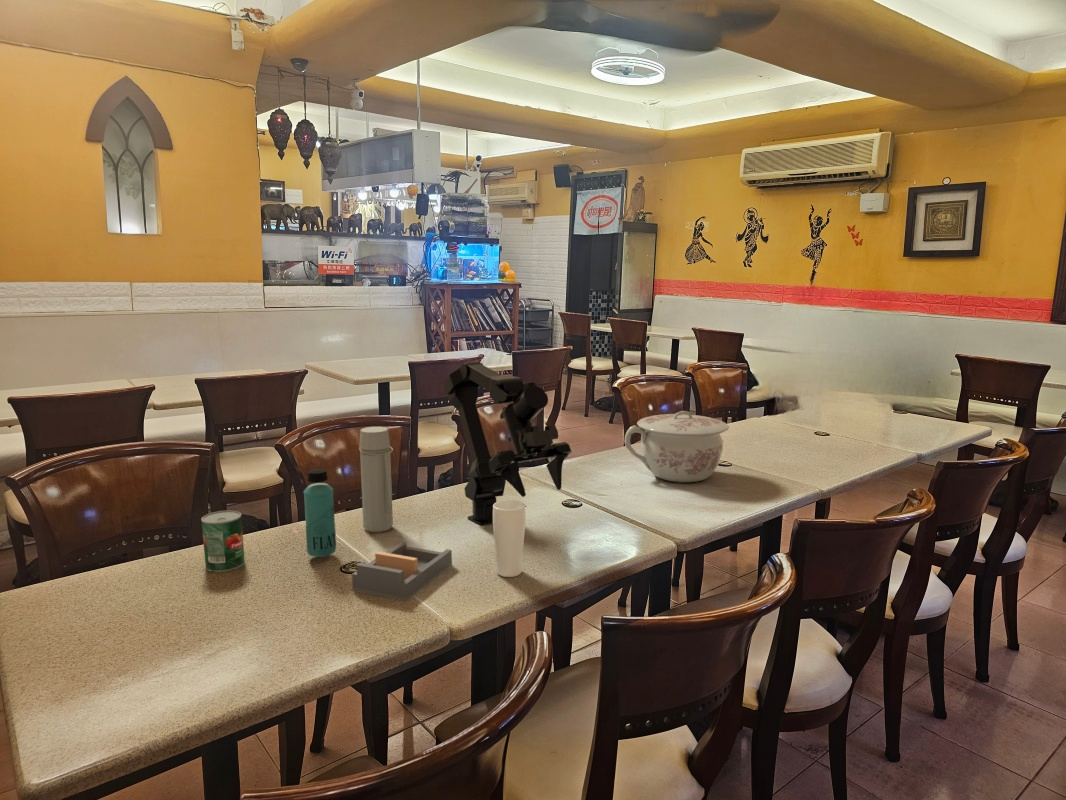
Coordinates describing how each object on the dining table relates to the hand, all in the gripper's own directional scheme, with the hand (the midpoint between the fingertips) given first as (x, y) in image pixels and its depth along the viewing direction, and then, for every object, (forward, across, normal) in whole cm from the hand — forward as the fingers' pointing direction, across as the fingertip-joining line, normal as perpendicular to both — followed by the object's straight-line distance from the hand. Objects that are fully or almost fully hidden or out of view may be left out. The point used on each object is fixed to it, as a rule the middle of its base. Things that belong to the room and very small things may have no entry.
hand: (542, 492), depth 156 cm
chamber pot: (-5, +69, +33) cm, 77 cm away
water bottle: (-8, -25, +37) cm, 45 cm away
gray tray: (+9, -30, +13) cm, 34 cm away
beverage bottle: (-2, -42, +29) cm, 51 cm away
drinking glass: (+14, -11, +6) cm, 19 cm away
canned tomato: (-6, -61, +34) cm, 70 cm away
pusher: (+9, -33, +11) cm, 36 cm away
